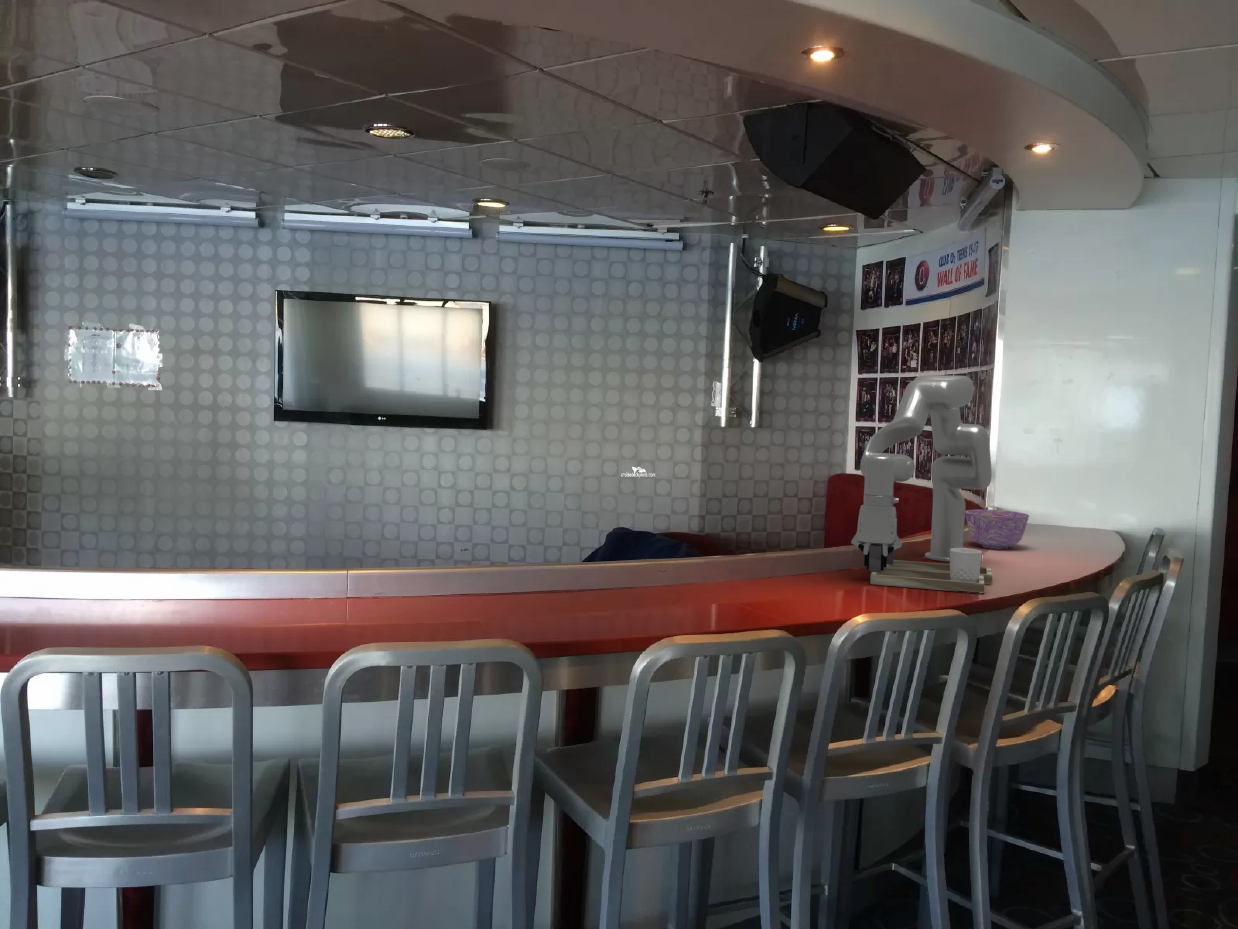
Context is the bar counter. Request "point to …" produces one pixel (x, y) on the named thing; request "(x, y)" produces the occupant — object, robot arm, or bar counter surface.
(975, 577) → the white cup
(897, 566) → the cube sled
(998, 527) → the bowl of food
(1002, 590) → the bar counter surface
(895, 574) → the glass sled
